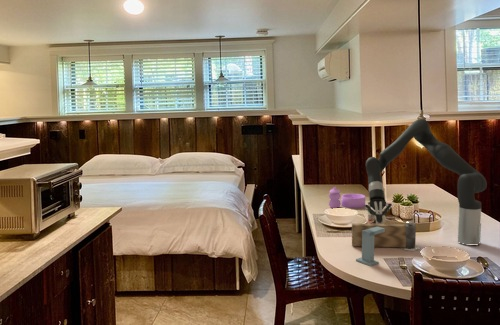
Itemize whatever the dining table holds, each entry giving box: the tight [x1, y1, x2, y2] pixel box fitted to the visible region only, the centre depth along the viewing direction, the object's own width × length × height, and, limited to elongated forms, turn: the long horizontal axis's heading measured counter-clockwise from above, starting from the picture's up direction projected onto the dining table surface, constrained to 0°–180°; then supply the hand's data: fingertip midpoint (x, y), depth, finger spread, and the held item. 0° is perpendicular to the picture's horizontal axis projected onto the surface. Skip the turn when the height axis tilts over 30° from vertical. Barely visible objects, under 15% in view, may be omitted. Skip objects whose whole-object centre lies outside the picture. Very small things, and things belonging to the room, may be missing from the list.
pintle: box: [399, 220, 421, 252], centre depth 205 cm, size 9×9×12 cm
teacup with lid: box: [367, 206, 387, 224], centre depth 241 cm, size 12×9×12 cm
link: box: [351, 223, 417, 248], centre depth 207 cm, size 28×5×10 cm, turn 81°
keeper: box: [355, 226, 385, 267], centre depth 189 cm, size 12×8×14 cm
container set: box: [328, 186, 366, 209], centre depth 289 cm, size 25×15×13 cm, turn 107°
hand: (379, 222), depth 217 cm, fingers closed
